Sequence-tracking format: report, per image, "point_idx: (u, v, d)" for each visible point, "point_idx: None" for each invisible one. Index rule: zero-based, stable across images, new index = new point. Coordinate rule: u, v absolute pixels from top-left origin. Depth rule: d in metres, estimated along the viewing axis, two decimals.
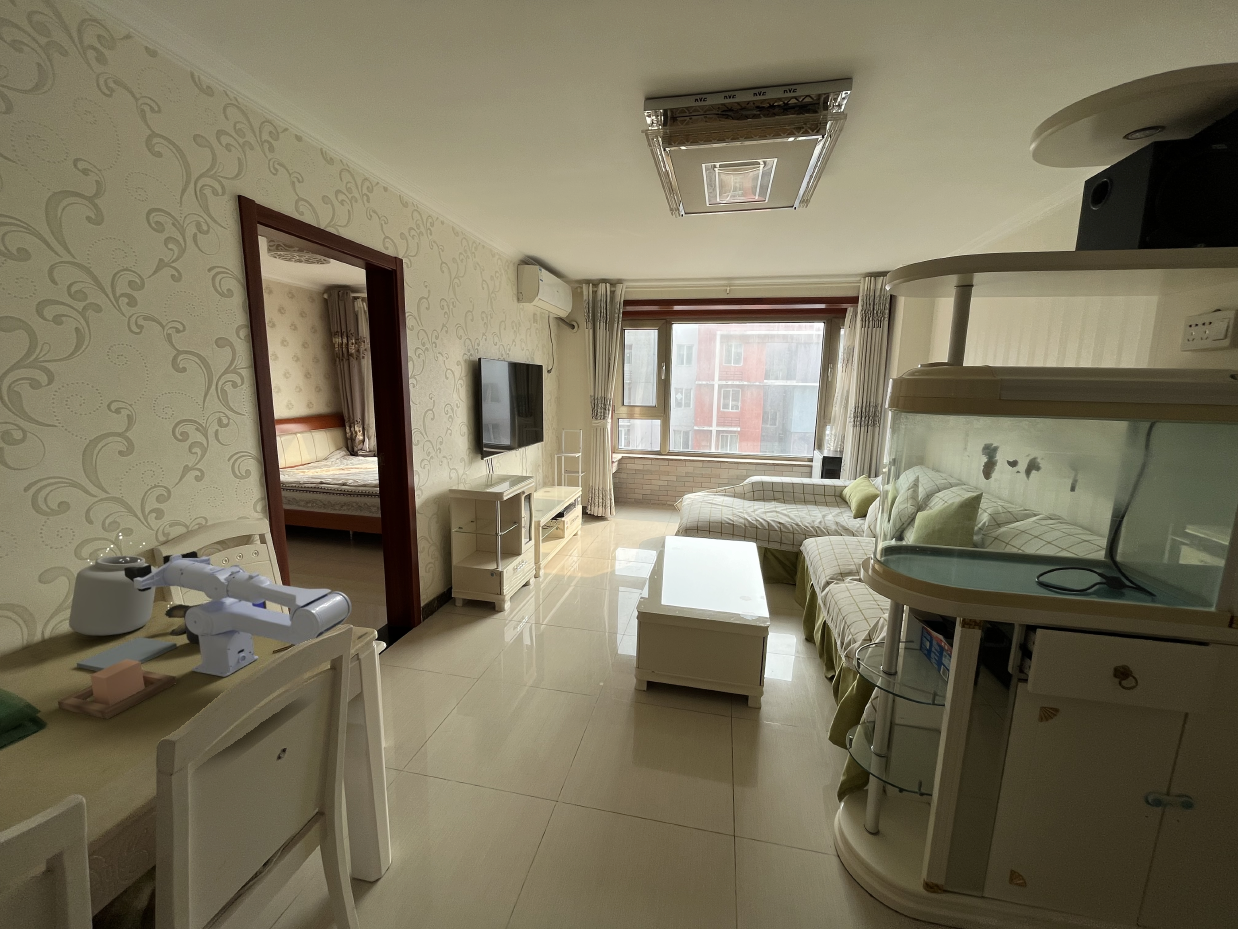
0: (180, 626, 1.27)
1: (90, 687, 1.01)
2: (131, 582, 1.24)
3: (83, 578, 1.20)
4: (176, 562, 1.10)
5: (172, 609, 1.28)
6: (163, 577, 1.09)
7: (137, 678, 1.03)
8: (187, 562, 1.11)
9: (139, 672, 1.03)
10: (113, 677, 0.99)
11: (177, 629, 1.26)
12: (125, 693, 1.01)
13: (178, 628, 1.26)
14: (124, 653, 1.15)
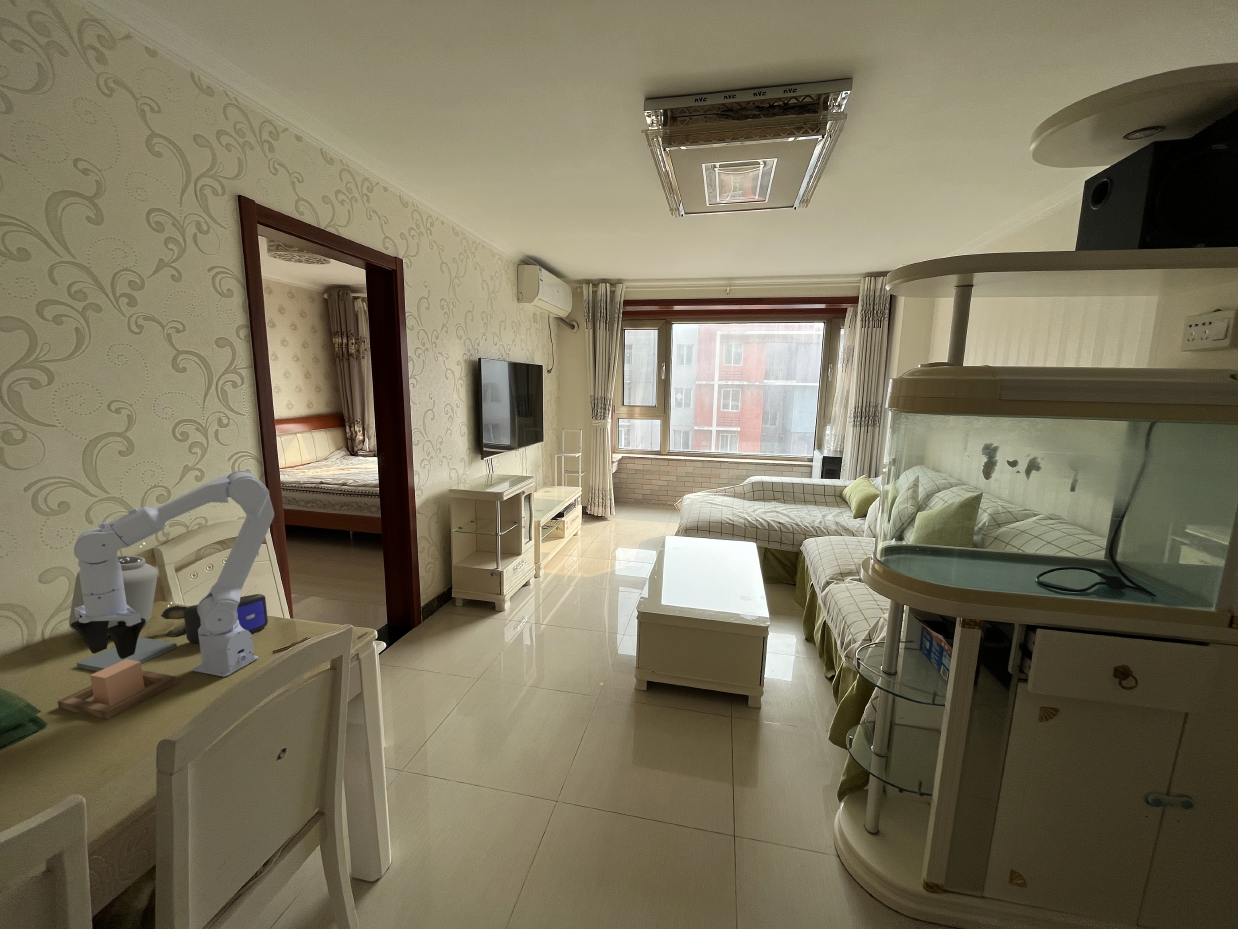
0: (177, 627, 1.26)
1: (90, 687, 1.01)
2: (131, 582, 1.24)
3: None
4: (91, 612, 0.96)
5: (169, 610, 1.27)
6: (117, 612, 0.98)
7: (137, 678, 1.03)
8: (86, 602, 0.95)
9: (139, 672, 1.03)
10: (113, 677, 0.99)
11: (174, 630, 1.26)
12: (125, 693, 1.01)
13: (175, 629, 1.26)
14: None
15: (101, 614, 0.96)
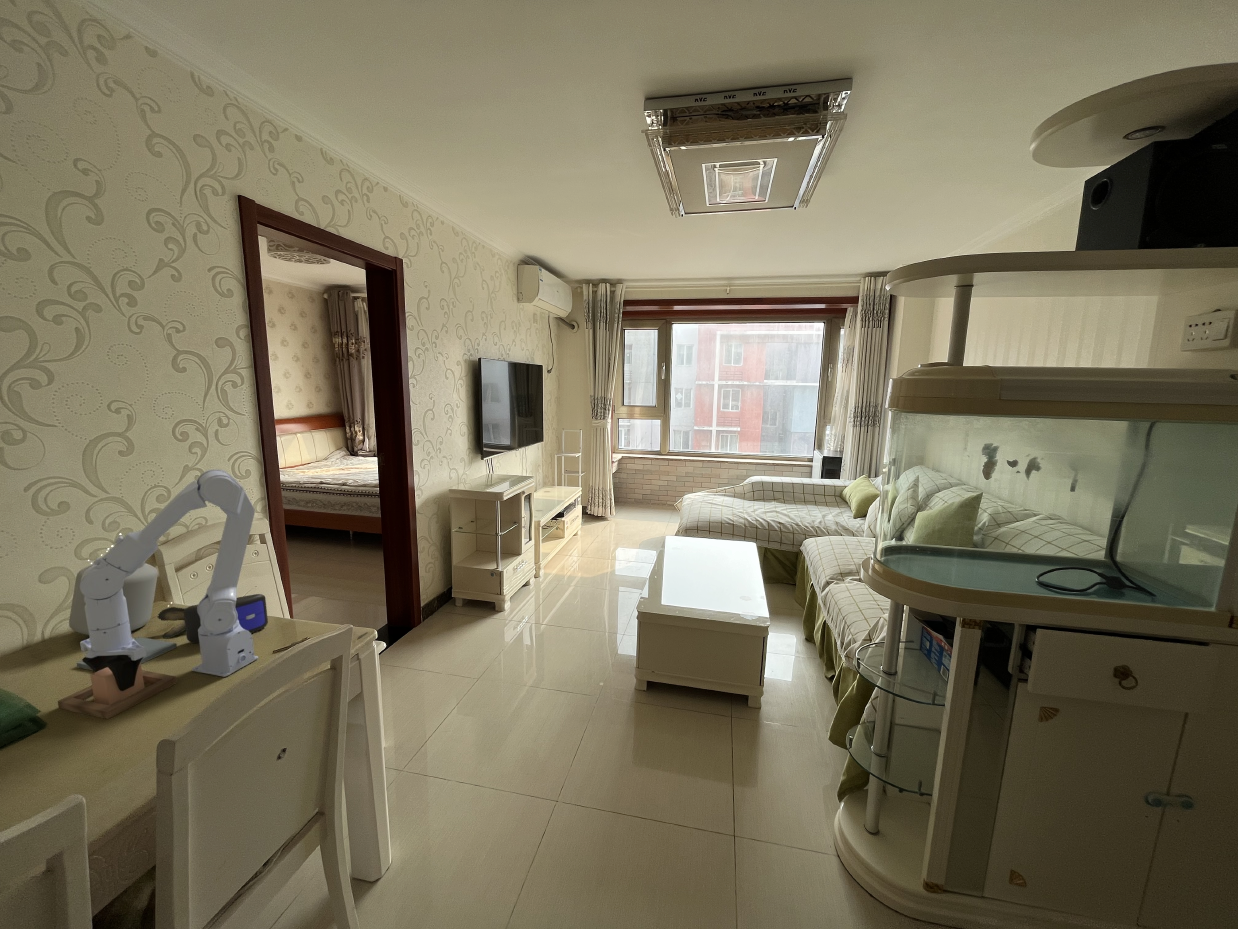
0: (173, 629, 1.25)
1: (90, 687, 1.01)
2: (131, 582, 1.24)
3: None
4: (97, 647, 0.97)
5: (165, 612, 1.26)
6: (123, 646, 0.99)
7: (137, 678, 1.03)
8: (92, 637, 0.97)
9: (139, 672, 1.03)
10: (113, 677, 0.99)
11: (170, 632, 1.25)
12: (125, 693, 1.01)
13: (171, 631, 1.25)
14: None
15: (107, 649, 0.97)
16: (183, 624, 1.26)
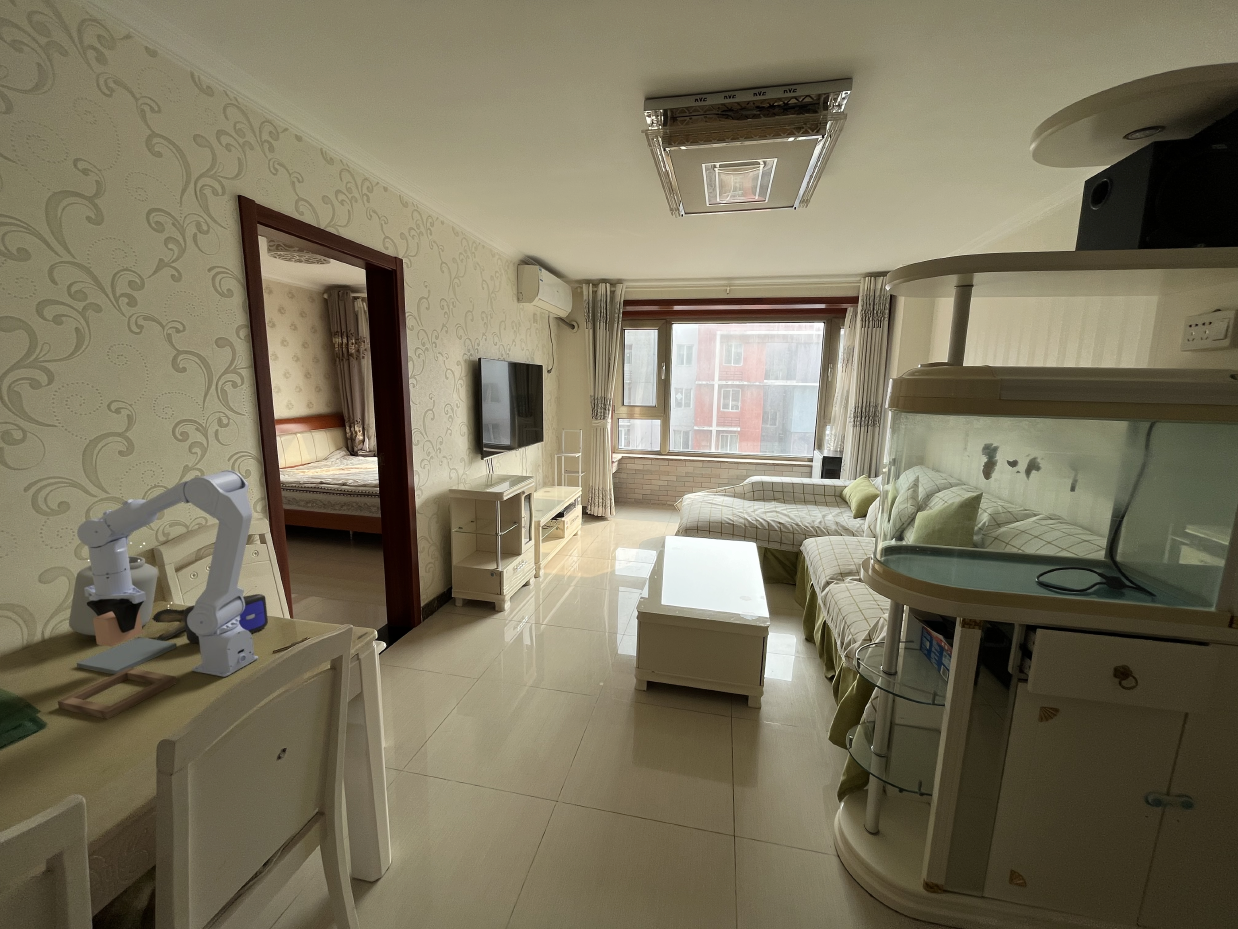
0: (168, 631, 1.24)
1: (90, 687, 1.01)
2: None
3: (83, 578, 1.20)
4: (100, 591, 1.06)
5: (160, 613, 1.25)
6: (124, 591, 1.08)
7: (136, 623, 1.11)
8: (96, 582, 1.05)
9: (138, 617, 1.12)
10: (115, 620, 1.07)
11: (165, 634, 1.24)
12: (125, 636, 1.09)
13: (166, 633, 1.24)
14: (124, 653, 1.15)
15: (109, 592, 1.06)
16: (178, 626, 1.25)
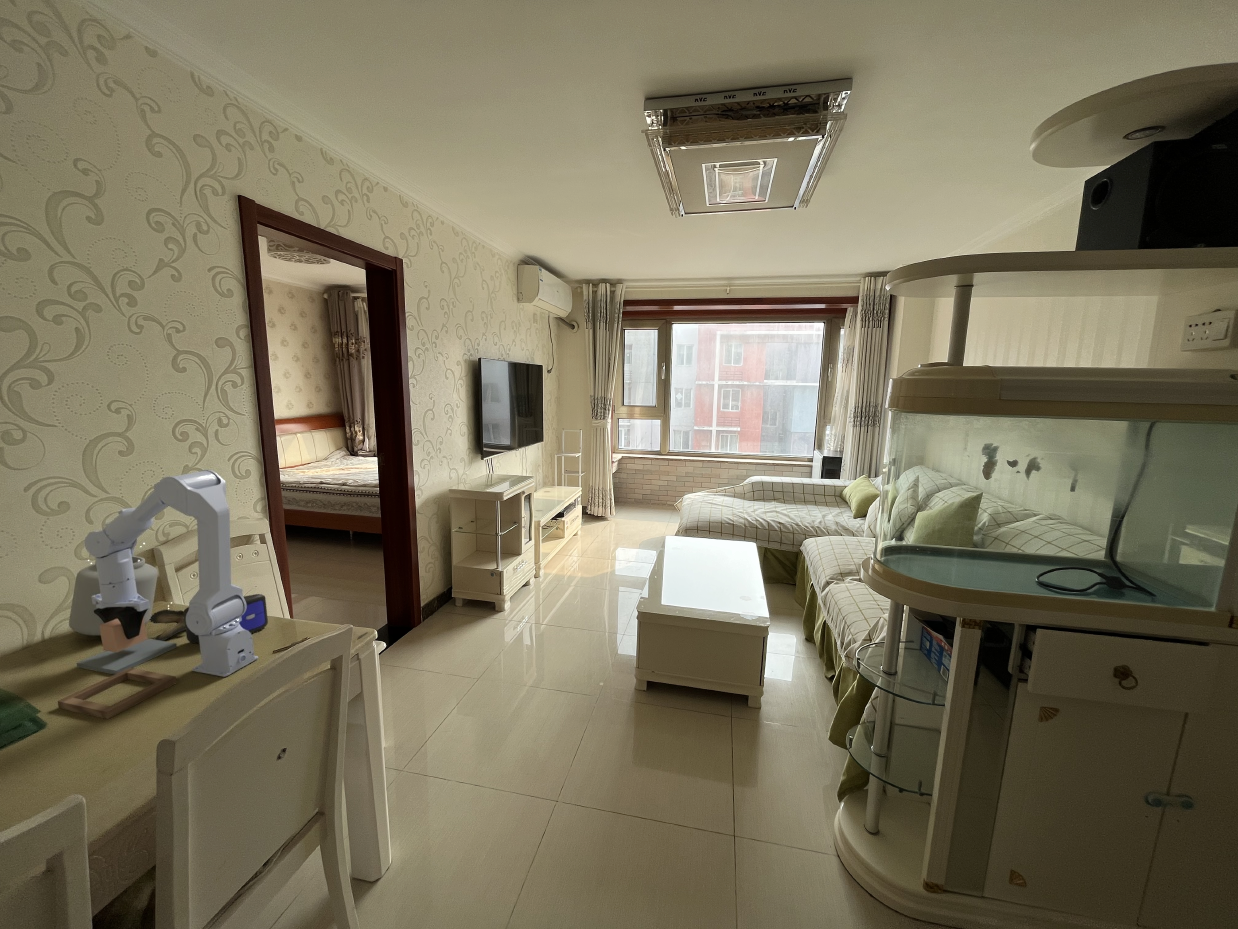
0: (165, 632, 1.24)
1: (90, 687, 1.01)
2: None
3: (83, 578, 1.20)
4: (106, 599, 1.10)
5: (157, 614, 1.25)
6: (129, 599, 1.13)
7: (141, 630, 1.16)
8: (102, 590, 1.10)
9: (142, 624, 1.16)
10: (120, 627, 1.12)
11: (162, 635, 1.23)
12: (130, 642, 1.14)
13: (163, 634, 1.23)
14: (124, 653, 1.15)
15: (115, 601, 1.11)
16: (176, 627, 1.25)
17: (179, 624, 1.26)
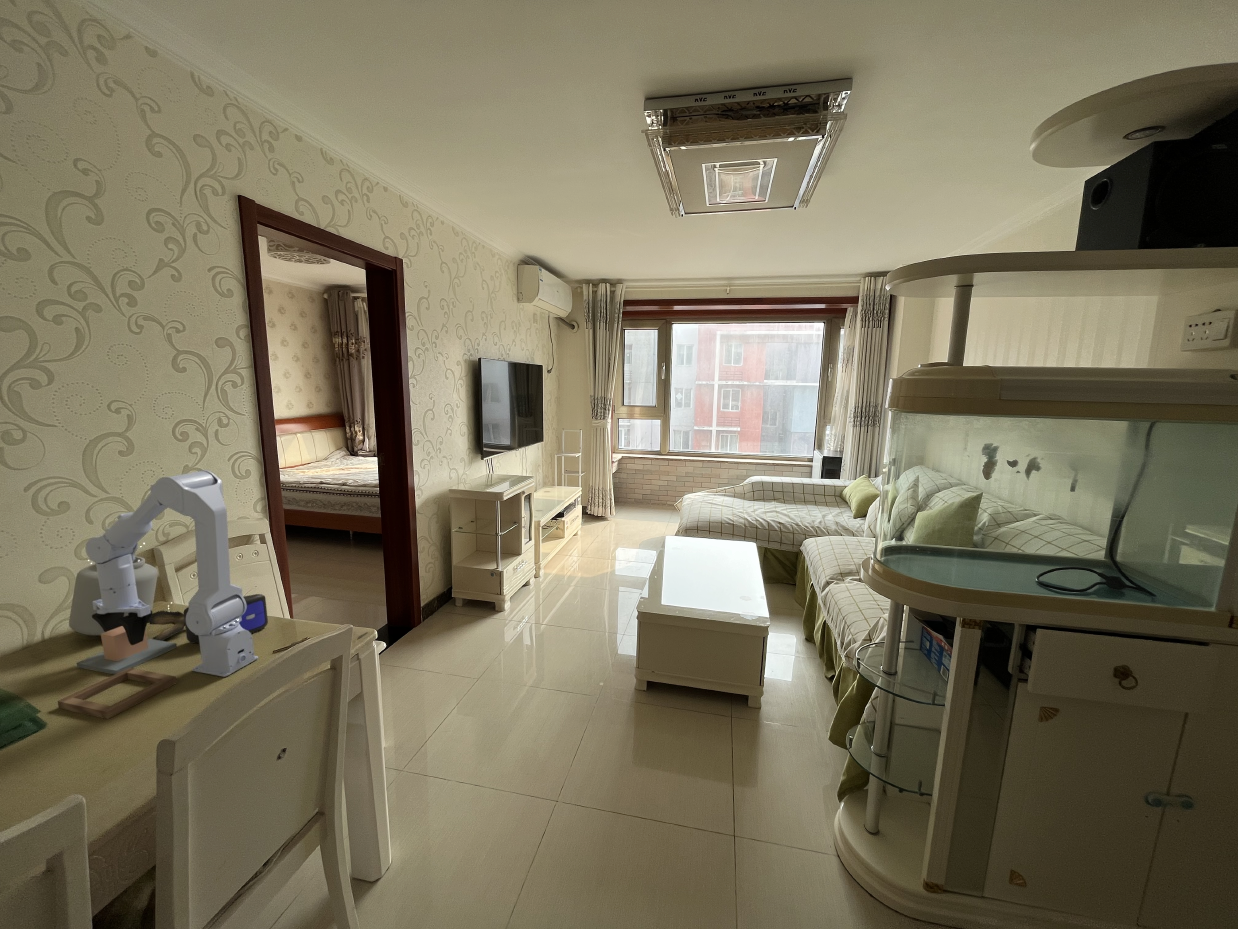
0: (162, 633, 1.23)
1: (90, 687, 1.01)
2: None
3: (83, 578, 1.20)
4: (107, 605, 1.10)
5: (154, 615, 1.24)
6: (130, 605, 1.13)
7: None
8: (103, 596, 1.10)
9: (144, 633, 1.16)
10: (121, 636, 1.12)
11: (159, 636, 1.23)
12: (131, 651, 1.14)
13: (160, 635, 1.23)
14: None
15: (116, 606, 1.11)
16: (173, 628, 1.24)
17: (176, 625, 1.25)
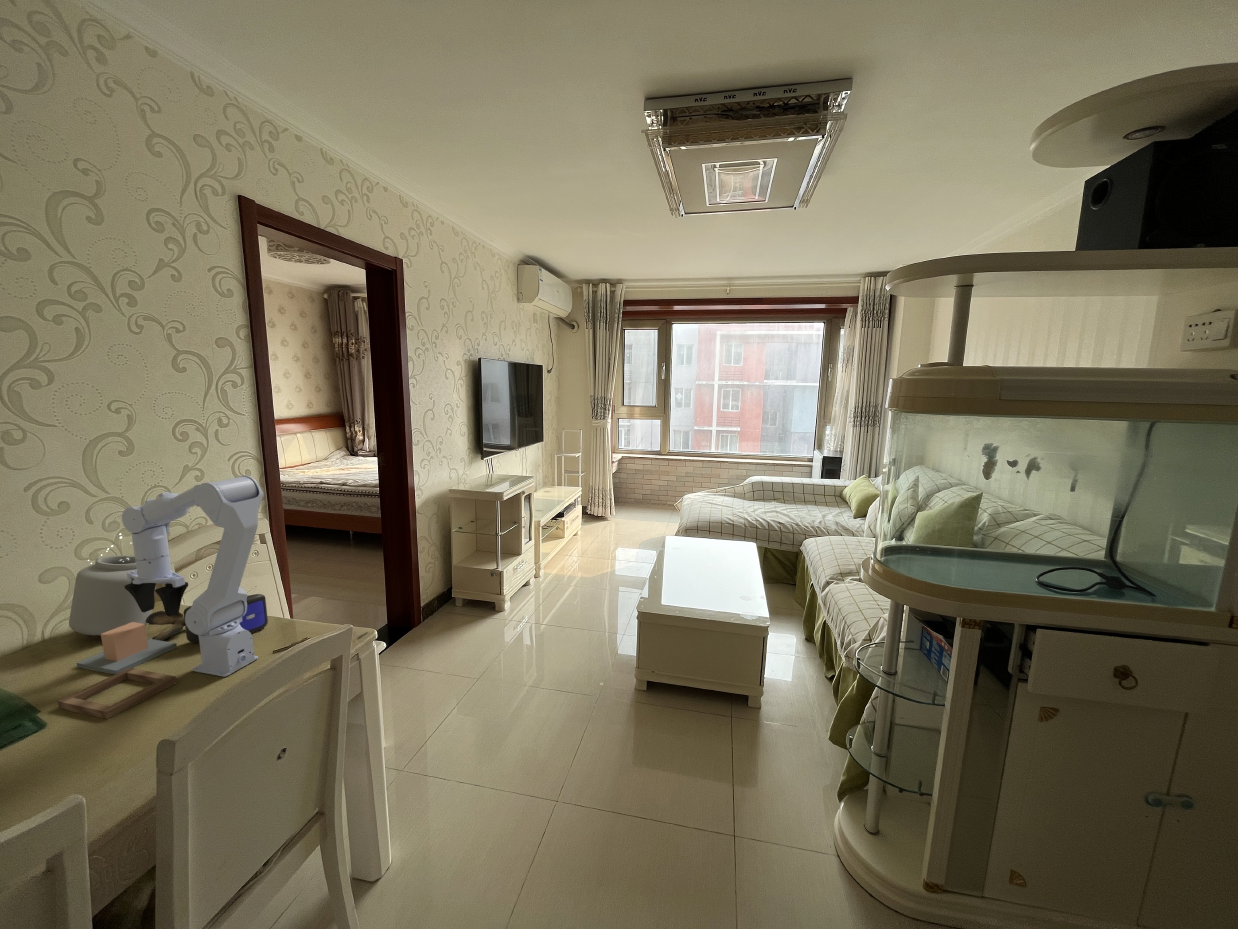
0: (161, 633, 1.23)
1: (90, 687, 1.01)
2: None
3: (83, 578, 1.20)
4: (143, 575, 1.11)
5: (153, 616, 1.24)
6: (164, 576, 1.13)
7: (142, 638, 1.16)
8: (138, 566, 1.11)
9: (144, 633, 1.16)
10: (121, 636, 1.12)
11: (158, 636, 1.23)
12: (131, 651, 1.14)
13: (159, 635, 1.23)
14: None
15: (151, 577, 1.11)
16: (172, 628, 1.24)
17: (175, 625, 1.25)
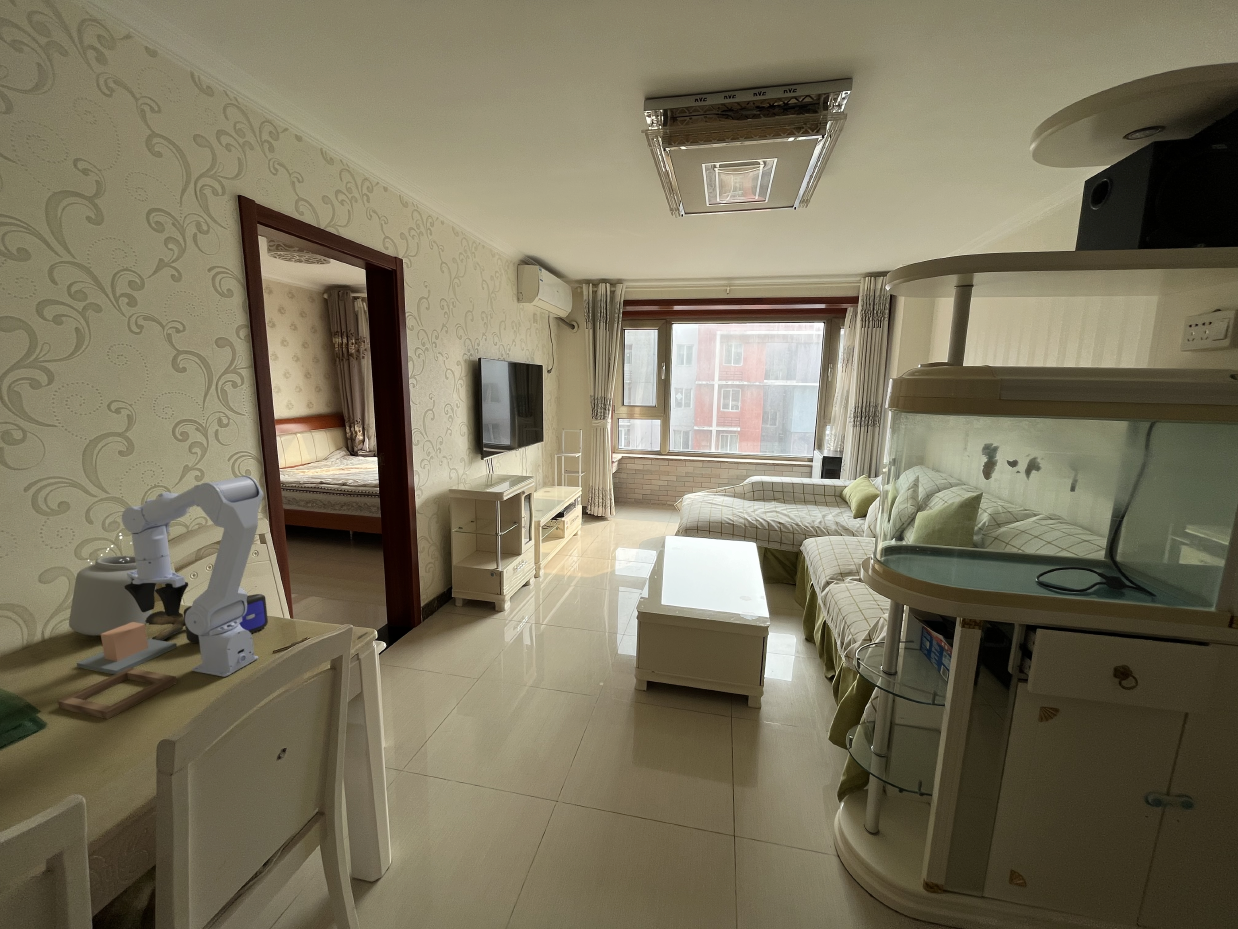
0: (161, 633, 1.23)
1: (90, 687, 1.01)
2: None
3: (83, 578, 1.20)
4: (143, 575, 1.11)
5: (153, 616, 1.24)
6: (164, 576, 1.13)
7: (142, 638, 1.16)
8: (138, 566, 1.11)
9: (144, 633, 1.16)
10: (121, 636, 1.12)
11: (158, 636, 1.23)
12: (131, 651, 1.14)
13: (159, 635, 1.23)
14: None
15: (151, 577, 1.11)
16: (172, 628, 1.24)
17: (175, 625, 1.25)
